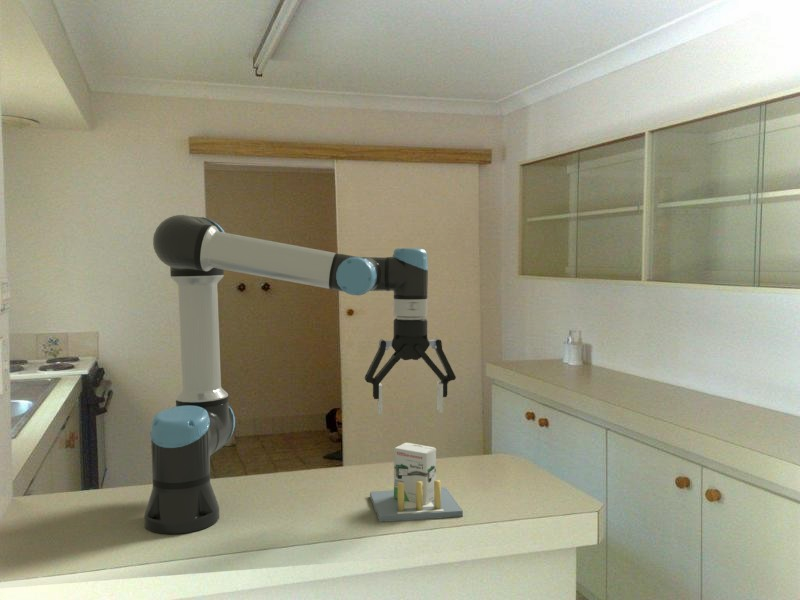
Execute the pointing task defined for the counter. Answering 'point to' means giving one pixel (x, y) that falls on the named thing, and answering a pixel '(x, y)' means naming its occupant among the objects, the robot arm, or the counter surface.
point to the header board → (414, 504)
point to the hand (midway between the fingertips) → (410, 412)
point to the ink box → (415, 470)
